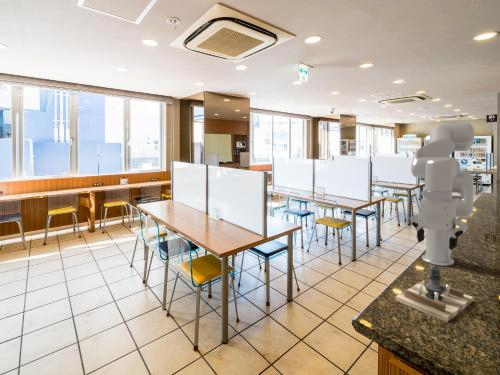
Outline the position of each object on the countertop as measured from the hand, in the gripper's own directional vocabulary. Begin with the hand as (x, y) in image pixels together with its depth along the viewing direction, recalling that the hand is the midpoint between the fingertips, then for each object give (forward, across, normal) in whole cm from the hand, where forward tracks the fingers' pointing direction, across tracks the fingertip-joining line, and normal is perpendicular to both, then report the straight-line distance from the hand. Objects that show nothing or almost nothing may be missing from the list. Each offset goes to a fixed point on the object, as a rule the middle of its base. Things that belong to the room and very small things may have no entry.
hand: (435, 244), depth 93 cm
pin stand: (+20, 0, -1) cm, 20 cm away
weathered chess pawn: (+19, 0, 0) cm, 19 cm away
